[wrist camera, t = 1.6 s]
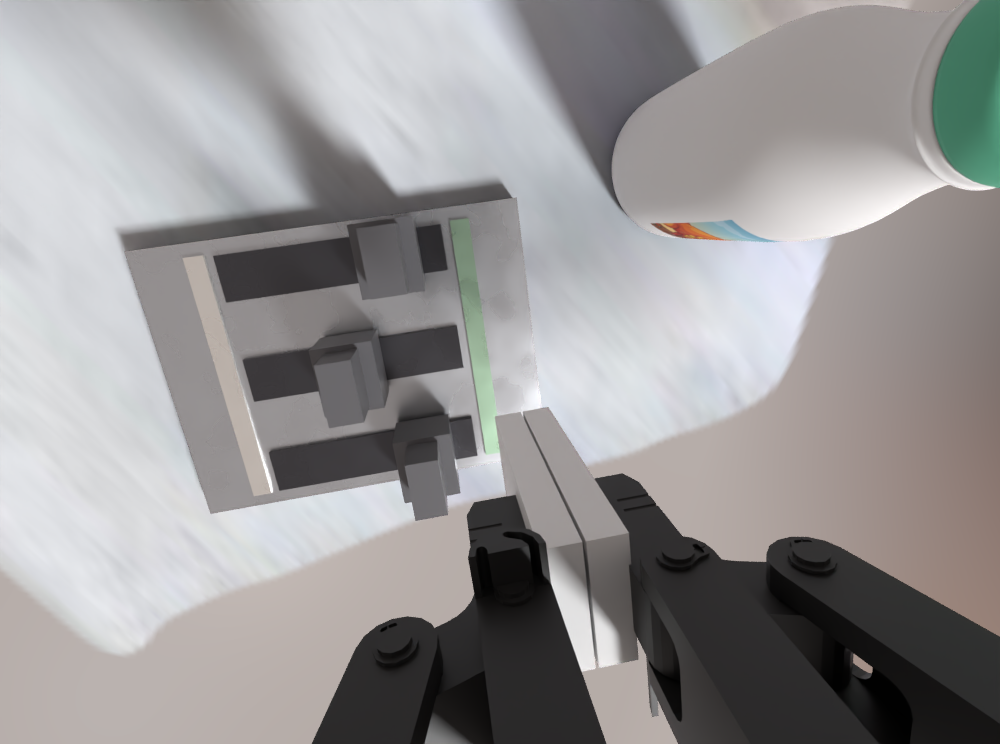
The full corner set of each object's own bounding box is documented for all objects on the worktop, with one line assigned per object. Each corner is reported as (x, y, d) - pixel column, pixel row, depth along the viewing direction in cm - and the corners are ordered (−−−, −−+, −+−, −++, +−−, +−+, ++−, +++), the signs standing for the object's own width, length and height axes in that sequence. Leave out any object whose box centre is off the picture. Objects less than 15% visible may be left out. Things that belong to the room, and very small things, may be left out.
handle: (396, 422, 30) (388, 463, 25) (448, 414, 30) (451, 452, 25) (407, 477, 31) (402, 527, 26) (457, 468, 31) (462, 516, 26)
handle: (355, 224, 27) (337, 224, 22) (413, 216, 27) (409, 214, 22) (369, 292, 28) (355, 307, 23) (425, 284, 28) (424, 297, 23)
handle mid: (320, 337, 28) (296, 363, 23) (376, 329, 29) (364, 352, 24) (335, 398, 29) (314, 436, 24) (389, 389, 30) (380, 424, 24)
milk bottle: (584, 203, 30) (857, 167, 11) (646, 64, 28) (1093, -267, 9) (698, 258, 32) (1110, 310, 12) (762, 129, 30) (1345, -37, 11)
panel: (137, 250, 28) (120, 251, 26) (513, 198, 29) (517, 197, 28) (218, 503, 32) (208, 516, 30) (543, 445, 34) (548, 455, 32)
